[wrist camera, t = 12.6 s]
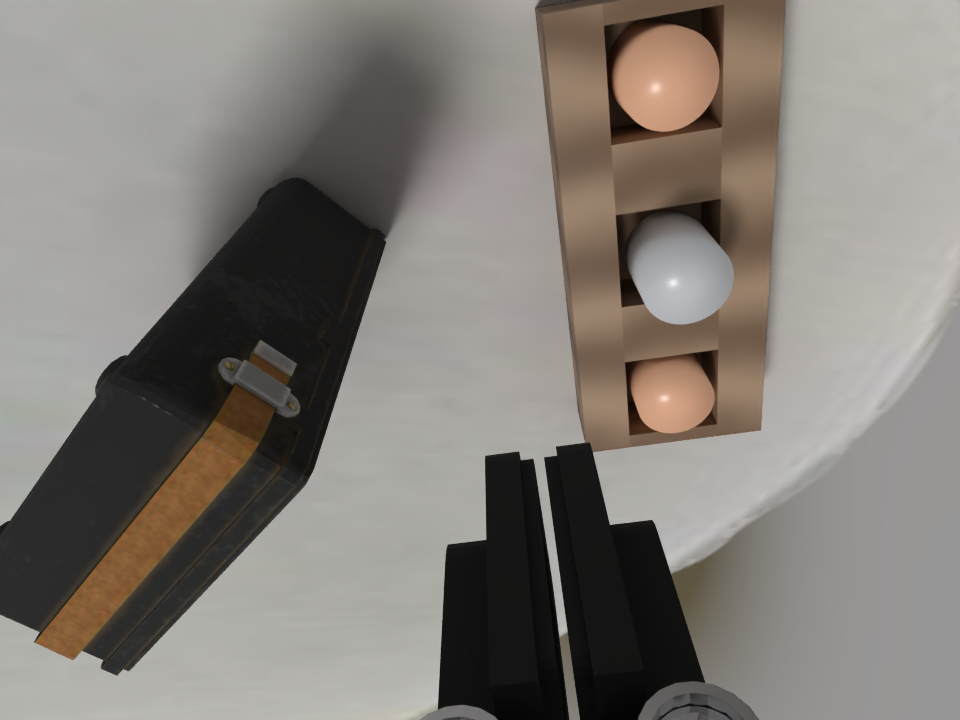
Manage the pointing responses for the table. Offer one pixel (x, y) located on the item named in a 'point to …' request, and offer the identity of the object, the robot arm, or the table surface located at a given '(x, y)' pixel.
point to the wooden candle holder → (662, 205)
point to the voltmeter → (193, 435)
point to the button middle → (678, 267)
